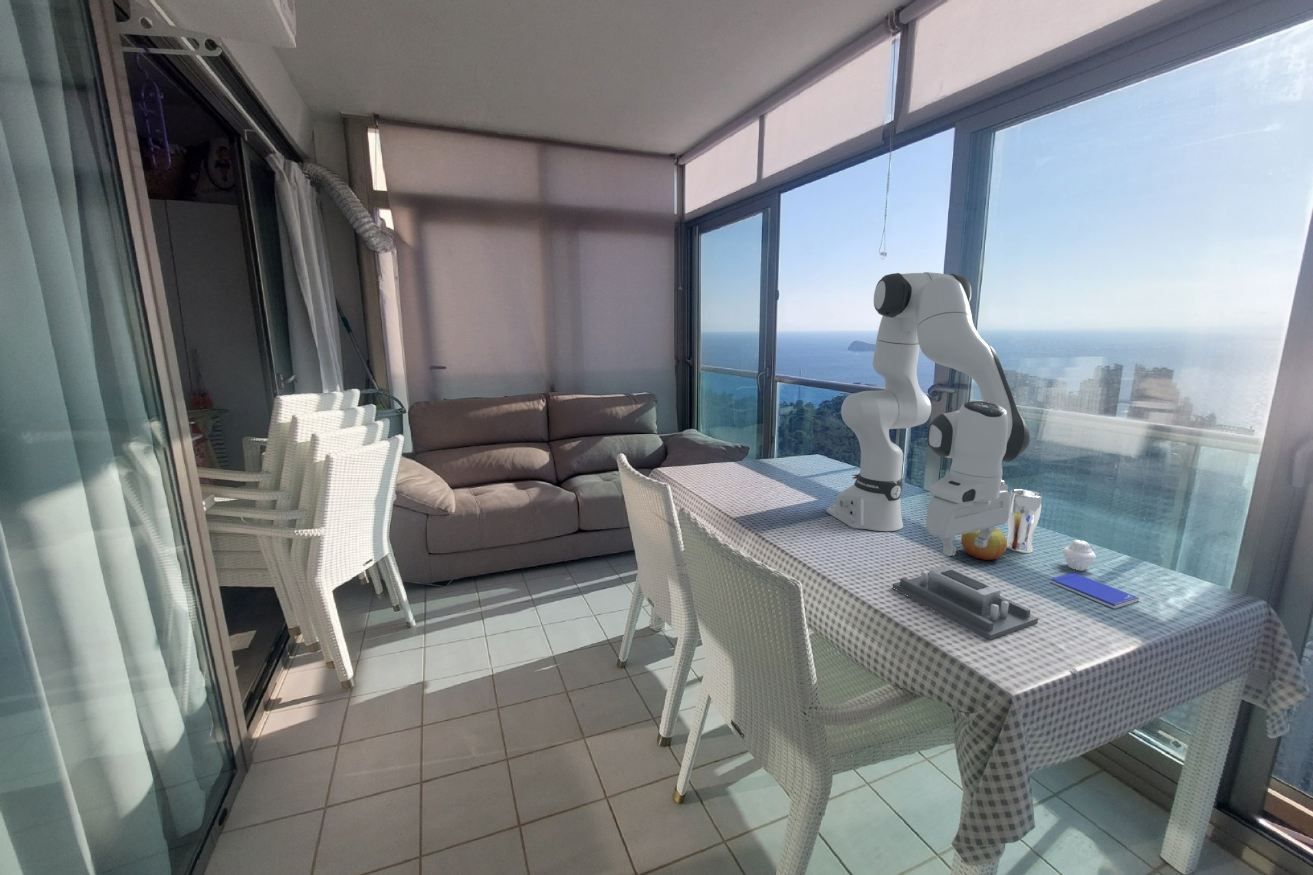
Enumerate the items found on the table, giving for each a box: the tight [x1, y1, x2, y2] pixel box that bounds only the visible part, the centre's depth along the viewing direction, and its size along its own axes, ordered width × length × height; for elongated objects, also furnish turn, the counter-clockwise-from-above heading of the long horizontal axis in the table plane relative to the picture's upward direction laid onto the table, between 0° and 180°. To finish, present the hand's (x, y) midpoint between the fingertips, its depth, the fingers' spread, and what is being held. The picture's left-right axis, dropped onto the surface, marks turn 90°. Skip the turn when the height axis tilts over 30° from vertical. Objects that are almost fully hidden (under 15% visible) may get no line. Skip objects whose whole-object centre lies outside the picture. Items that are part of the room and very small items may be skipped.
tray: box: [892, 568, 1039, 641], centre depth 109 cm, size 22×14×4 cm, turn 25°
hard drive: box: [1050, 572, 1140, 609], centre depth 115 cm, size 2×8×12 cm
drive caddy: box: [927, 565, 1002, 616], centre depth 109 cm, size 12×5×5 cm, turn 25°
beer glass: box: [1006, 488, 1043, 554], centre depth 136 cm, size 7×7×15 cm
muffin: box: [1062, 539, 1097, 572], centre depth 126 cm, size 6×6×7 cm
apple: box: [960, 527, 1007, 561], centre depth 132 cm, size 10×10×8 cm
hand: (964, 550), depth 108 cm, fingers open, 8 cm apart
